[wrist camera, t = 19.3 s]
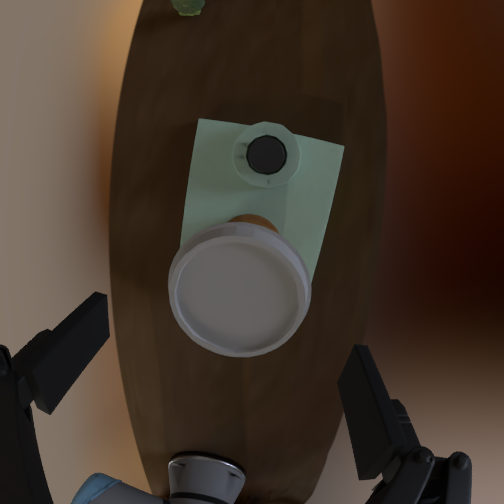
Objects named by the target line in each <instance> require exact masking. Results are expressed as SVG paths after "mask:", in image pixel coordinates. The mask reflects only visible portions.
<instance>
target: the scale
mask: <svg viewBox="0 0 504 504" xmlns="http://www.w3.org/2000/svg"><path fill="white" fill-rule="evenodd" d="M264 137H268V138H273V139H275V140H277V141H278V142H279V143H280V144H281V145H282V147H283V149H284V154H285V157H284V161H283V163H282V165H281V166H280V167H279V168H278V169H277V170H275V171H273V172H270V173H264V172H260V171H258V170H256V169H255V168H254V167H253V166H252V165H251V163H250V161H249V158H248V152H249V148H250V146H251V145H252V144H253V143H254V142H255V141H256V140H258V139H260V138H264ZM343 150H344V146H341V145H338V144H334V143H330V142H326V141H322V140H318V139H314V138H309V137H305V136H301V135H296V134H292V133H291V132H290V131H289V130H288V129H286V128H285V127H284V126H283V125H281V124H276V123H270V122H264V121H263V122H260V123H257V124H254V125H251V126H249V125H243V124H237V123H230V122H223V121H216V120H208V119H199V121H198V126H197V132H196V137H195V143H194V149H193V155H192V161H191V167H190V174H189V180H188V187H187V194H186V202H185V209H184V217H183V225H182V234H181V242H180V247H181V246H182V245H183V244H184V243H185V242H187V241H188V240H189V239H190V238H191V237H192V236H193V235H194V234H196V233H198V232H200V231H201V230H203V229H205V228H207V227H210V226H213V225H217V224H220V223H226V222H228V221H229V220H231V219H233V218H234V217H237V216H239V215H244V214H254V215H259V216H261V217H264V218H265V219H267V220H269V221H270V222H271V223H272V224H273V225H274V226H275V227H276V229H277V230H278V232H279V234H280V235H281V236H282V237H283V238H285V239H286V240H287V241H289V242H290V244H291V245H292V246H293V247H294V248H295V249H296V250H297V251H298V253H299V254H300V256H301V257H302V259H303V260H304V263H305V265H306V267H307V269H308V272H309V276H310V280H311V282H312V278H313V275H314V271H315V267H316V264H317V260H318V256H319V253H320V249H321V245H322V241H323V237H324V233H325V230H326V226H327V221H328V217H329V213H330V209H331V205H332V201H333V196H334V192H335V188H336V183H337V179H338V174H339V170H340V165H341V160H342V155H343Z"/></svg>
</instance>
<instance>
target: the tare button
mask: <svg viewBox="0 0 504 504" xmlns="http://www.w3.org/2000/svg"><path fill="white" fill-rule="evenodd" d="M284 157H285V154H284V149H283V147H282V145H281V144H280V143H279V142H278V141H277V140H275V139H273V138H268V137H264V138H260V139H258V140H256V141H255V142H254V143H253V144H252V145H251V146H250V148H249V152H248V158H249V161H250V163H251V165H252V166H253V167H254V168H255V169H256V170H258V171H260V172H264V173H270V172H273V171H275V170H277V169H278V168H279V167H280V166H281V165H282V163H283V161H284Z"/></svg>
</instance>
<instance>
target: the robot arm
mask: <svg viewBox="0 0 504 504" xmlns="http://www.w3.org/2000/svg"><path fill="white" fill-rule="evenodd" d="M109 337H110V333H109V319H108V302H107V295H106V294H102V293H99V292H94V293H93V294H92V295H91V296H90V297H89V298H87V299H86V300H85V301H84V302H83V303H82V304H81V305H80V306H78V307H77V308H76V309H75V310H74V311H73V312H72V313H71V314H69V315H68V316H67V317H66V318H65V319H64V320H63V321H62V322H61V323H60V324H59V325H58V326H56V327H55V328H54V329H53V330H52V331H51V330H49V329H46V330H44V331H41V332H39V333H38V334H37V335H36V336H35V337H34V338H33V339H32V340H30V341H29V342H28V343H27V345H25V346H24V347H23V348H22V349H21V350H20V351H19V352H18V353H17V354H16V355H14V357H12V358H11V355H10V352H9V349H8V348H7V347H6V346H4V345H0V504H53V501H52V497H51V494H50V492H49V488H48V484H47V481H46V478H45V474H44V470H43V466H42V462H41V458H40V454H39V449H38V444H37V440H36V434H35V428H34V422H33V415H32V409H31V406H30V403H31V402H32V401H33V400H34V401H35V403H36V406H37V408H38V409H40V410H42V411H43V412H45V413H47V414H49V415H51V413H52V412H53V411H54V409H55V408H56V407H57V405H58V404H59V402H60V401H61V400H62V398H63V397H64V396H65V394H66V393H67V391H68V390H69V389H70V387H71V386H72V384H73V383H74V382H75V381H76V379H77V378H78V377H79V375H80V374H81V373H82V371H83V370H84V369H85V368H86V366H87V365H88V364H89V362H90V361H91V360H92V359H93V357H94V356H95V355H96V353H97V352H98V351H99V350H100V348H101V347H102V346H103V345H104V343H105V342H106V340H107V339H108V338H109ZM337 384H338V388H339V392H340V396H341V400H342V404H343V408H344V413H345V417H346V421H347V425H348V430H349V435H350V439H351V444H352V448H353V453H354V458H355V463H356V467H357V472H358V477H359V480H369V479H375V478H376V477H377V476H378V475H379V474H380V473H381V472H382V476H383V479H382V480H381V481H380V482H379V483H378V484H377V485H376V486H375V487H374V488H373V489H372V490H373V491H374V492H373V493H372V495H371V496H370V498H369V499H368V501H367V502H366V503H365V504H471V485H472V463H471V460H470V458H469V456H468V455H466V454H465V453H463V452H454V453H453V454H452V455H451V456H450V457H449V458H443V457H435V456H434V454H433V453H432V451H431V450H429V449H428V448H426V447H423V446H421V445H420V443H419V440H418V438H417V435H416V433H415V430H414V428H413V426H412V423H410V422H411V421H410V418H409V417H408V414H407V411H406V409H405V407H404V406H403V405H402V404H401V403H400V401H399V400H398V399H395V400H394V399H393V400H392V399H390V397H389V395H388V392H387V390H386V388H385V385H384V383H383V380H382V378H381V376H380V373H379V371H378V369H377V367H376V364H375V362H374V360H373V357H372V355H371V353H370V351H369V348H368V346H365V345H356V344H354V347H353V349H352V351H351V354H350V356H349V358H348V360H347V362H346V365H345V367H344V369H343V371H342V373H341V375H340V378H339V380H338V382H337ZM168 471H169V481H170V490H171V493H170V497H169V501H168V500H165V499H162V498H159V497H157V496H154V495H152V494H149V493H146V492H144V491H142V490H139V489H137V488H134V487H132V486H130V485H128V484H125V483H123V482H122V481H121V480H117V479H114V478H112V477H110V476H108V475H105V474H103V473H94V474H93V475H91V476H90V477H89V478H88V479H87V480H86V481H85V482H84V484H83V485H82V486H81V488H80V489H79V490H78V492H77V493H76V495H75V496H74V498H73V500H72V503H71V504H233V503H234V502H235V500H236V498H237V496H238V494H239V493H240V491H241V489H242V487H243V485H244V483H245V478H246V472H245V470H244V469H243V468H242V467H241V466H240V465H239V464H237V463H236V462H234V461H232V460H230V459H227V458H225V457H222V456H218V455H214V454H210V453H203V452H182V453H178V454H175V455H174V456H172V457H171V459H170V462H169V466H168Z"/></svg>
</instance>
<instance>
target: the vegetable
mask: <svg viewBox="0 0 504 504" xmlns="http://www.w3.org/2000/svg"><path fill="white" fill-rule="evenodd" d="M171 3H172V4H173V6H174V8H175V9H176V10H177V11H178V12H179V14H180V15H181V16H194V15H199V14H200V11H201V8H203V6H204V4H205V0H171Z"/></svg>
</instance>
